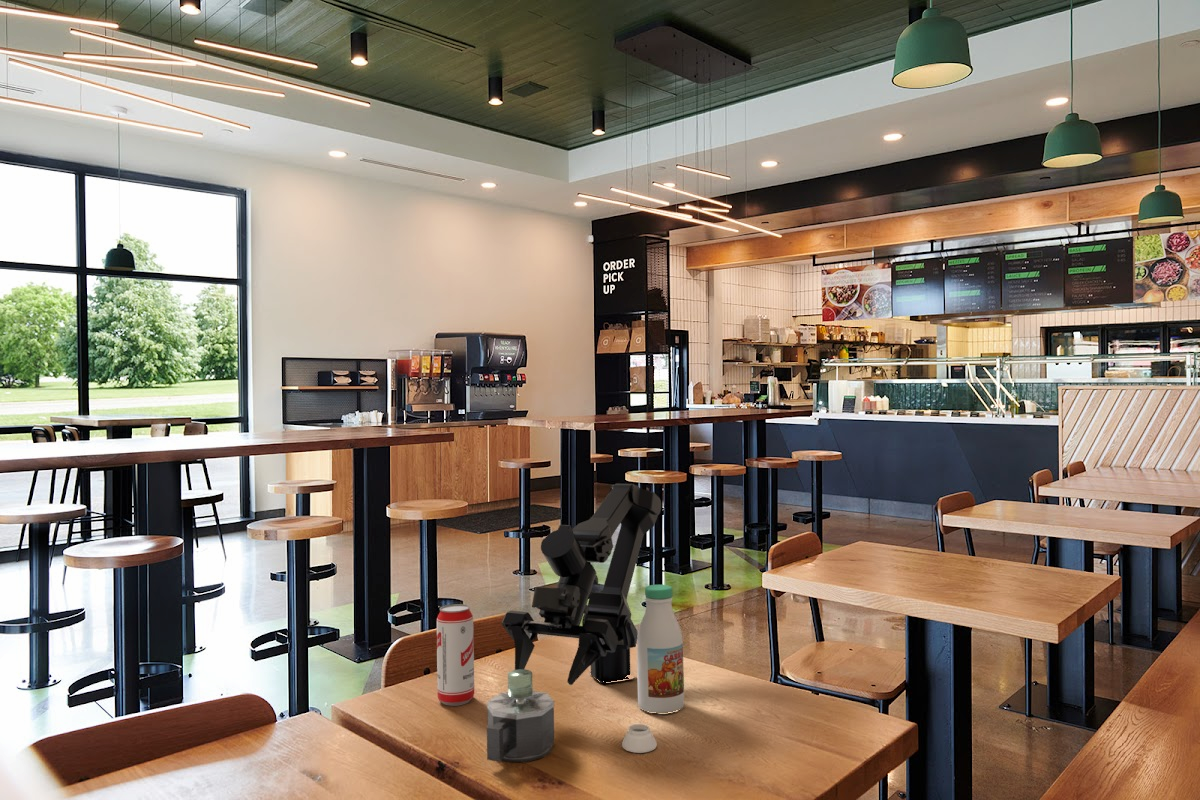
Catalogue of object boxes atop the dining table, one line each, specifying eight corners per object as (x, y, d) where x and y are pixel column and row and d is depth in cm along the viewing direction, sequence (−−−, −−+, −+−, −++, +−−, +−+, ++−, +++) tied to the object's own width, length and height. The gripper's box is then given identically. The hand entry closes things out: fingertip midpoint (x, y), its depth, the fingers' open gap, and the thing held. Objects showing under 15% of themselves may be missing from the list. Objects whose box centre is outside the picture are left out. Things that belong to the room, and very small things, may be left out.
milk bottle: (631, 712, 131) (629, 590, 131) (646, 696, 138) (644, 580, 138) (676, 718, 128) (674, 593, 128) (689, 702, 135) (687, 583, 136)
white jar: (654, 756, 114) (658, 742, 119) (653, 735, 114) (658, 722, 119) (619, 754, 115) (625, 740, 120) (619, 733, 115) (625, 720, 120)
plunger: (516, 733, 120) (515, 668, 120) (537, 737, 118) (536, 670, 118) (504, 743, 116) (503, 675, 116) (525, 746, 115) (524, 678, 115)
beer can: (478, 694, 141) (477, 603, 141) (469, 707, 134) (467, 612, 135) (443, 693, 141) (442, 603, 141) (432, 706, 135) (431, 611, 135)
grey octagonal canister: (510, 733, 123) (509, 687, 123) (563, 741, 120) (562, 694, 120) (465, 765, 112) (464, 715, 112) (522, 776, 108) (521, 724, 108)
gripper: (506, 562, 133) (470, 647, 122) (609, 569, 125) (580, 660, 115) (530, 598, 140) (498, 682, 129) (629, 607, 132) (603, 697, 122)
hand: (542, 680), depth 124 cm, fingers open, 9 cm apart
